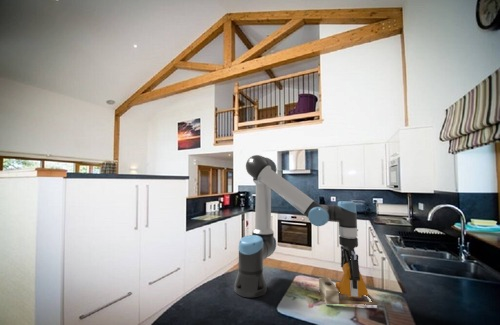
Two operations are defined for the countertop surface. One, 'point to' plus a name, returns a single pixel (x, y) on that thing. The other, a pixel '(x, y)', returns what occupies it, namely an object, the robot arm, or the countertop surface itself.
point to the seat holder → (336, 293)
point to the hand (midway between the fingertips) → (350, 291)
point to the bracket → (345, 283)
